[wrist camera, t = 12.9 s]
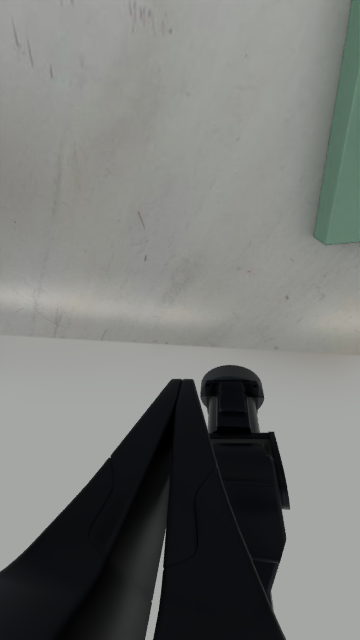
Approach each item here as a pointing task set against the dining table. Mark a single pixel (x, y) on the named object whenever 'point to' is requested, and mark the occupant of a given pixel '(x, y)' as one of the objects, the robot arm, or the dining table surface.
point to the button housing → (343, 150)
